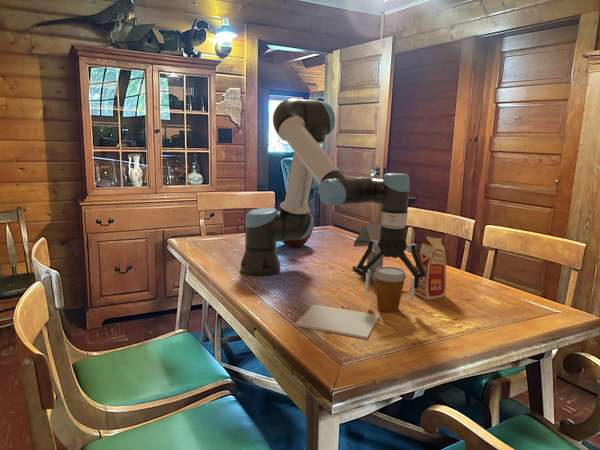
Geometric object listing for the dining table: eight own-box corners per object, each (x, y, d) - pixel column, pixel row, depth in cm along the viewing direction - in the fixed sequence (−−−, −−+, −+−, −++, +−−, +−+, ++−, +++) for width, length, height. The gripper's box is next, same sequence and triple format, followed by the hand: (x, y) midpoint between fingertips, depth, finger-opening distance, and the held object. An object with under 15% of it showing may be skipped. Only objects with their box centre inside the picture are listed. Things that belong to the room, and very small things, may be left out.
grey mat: (294, 325, 125) (295, 323, 125) (314, 306, 140) (314, 304, 140) (367, 339, 119) (367, 336, 118) (379, 317, 133) (379, 315, 133)
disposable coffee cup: (404, 315, 135) (407, 276, 133) (371, 312, 136) (374, 273, 134) (403, 304, 144) (405, 267, 142) (372, 301, 146) (374, 265, 143)
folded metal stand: (397, 282, 166) (401, 228, 163) (373, 284, 164) (376, 229, 160) (374, 268, 184) (377, 218, 180) (352, 269, 181) (355, 219, 177)
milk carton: (427, 299, 149) (432, 239, 145) (408, 290, 157) (412, 233, 153) (448, 296, 153) (453, 237, 150) (428, 287, 161) (433, 231, 158)
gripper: (349, 224, 136) (346, 293, 140) (436, 232, 128) (430, 305, 132) (355, 220, 143) (352, 286, 147) (438, 227, 135) (433, 297, 138)
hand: (389, 295), depth 139 cm, fingers open, 13 cm apart
